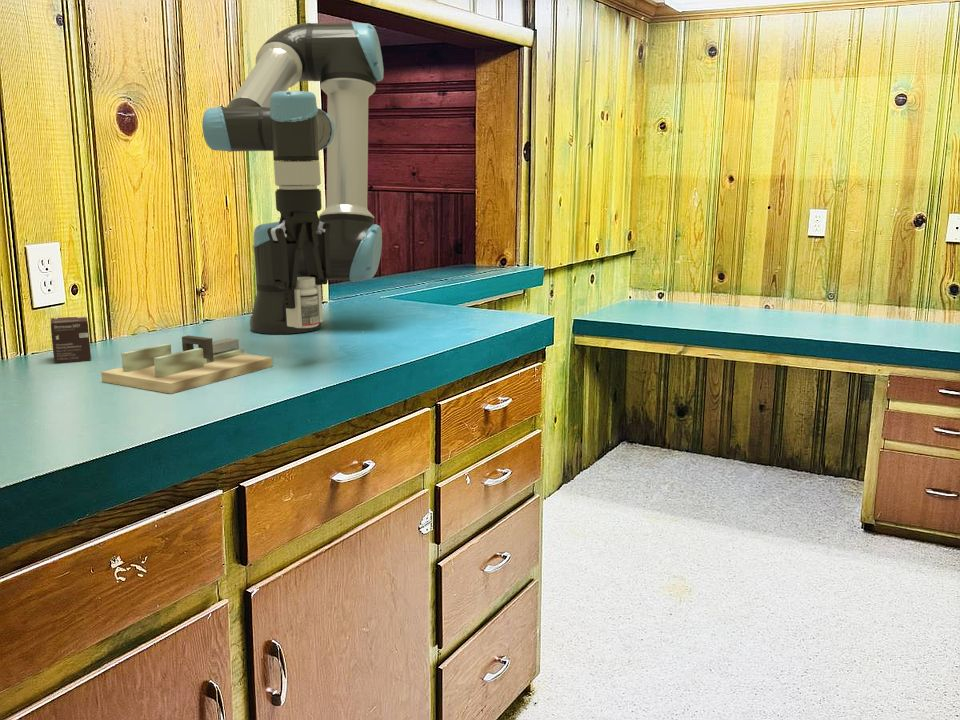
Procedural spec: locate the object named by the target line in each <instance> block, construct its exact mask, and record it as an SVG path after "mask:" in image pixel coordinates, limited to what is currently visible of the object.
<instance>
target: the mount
mask: <svg viewBox="0 0 960 720" xmlns="http://www.w3.org/2000/svg"><path fill="white" fill-rule="evenodd" d="M212 342H213V338H212V337H203V336H196V335H185V336H181V346H182V351H179V352H175V353H172V346H171V345H172V344H170V343H163V344H158V345H153V346H150V347H149V346H148V347H144V348H139V349H136V350H130V351H125V352H121V363H122V366H121V367H117V368H113V369H108V370H104V371H101V372H100V373H101V382H103V383H107V384H114V385H120V386H123V387H124V386H126V387H131V388H135V389H143V390H147V391H154V392H160V393H165V394H171V395H172V394H175V393H179V392H183V391H187V390H190V389H194V388H197V387H201V386H205V385H209V384H211V383H212V384H213V383H216V382H219V381H220V382H221V381H224V380H227V379H230V378H234V376H235V377H238V375H239V376H242V374H243V375H246V374H249V373H253V372H257V371H260V370H261V371H262V370H265V369H268V368H272V367H273V365H274V364H273V363H274V362H273V357H272V356H265V355H257V354H249V353H245V352H244V351H245V350H244V349H240V348H239V349H238V350H234V351H230V352H226V353H221V354H217V355H213V344H212ZM194 345H197V346H198V345H201V346H202V348H198V347H197V348H194ZM271 366H272V367H271Z"/></svg>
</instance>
